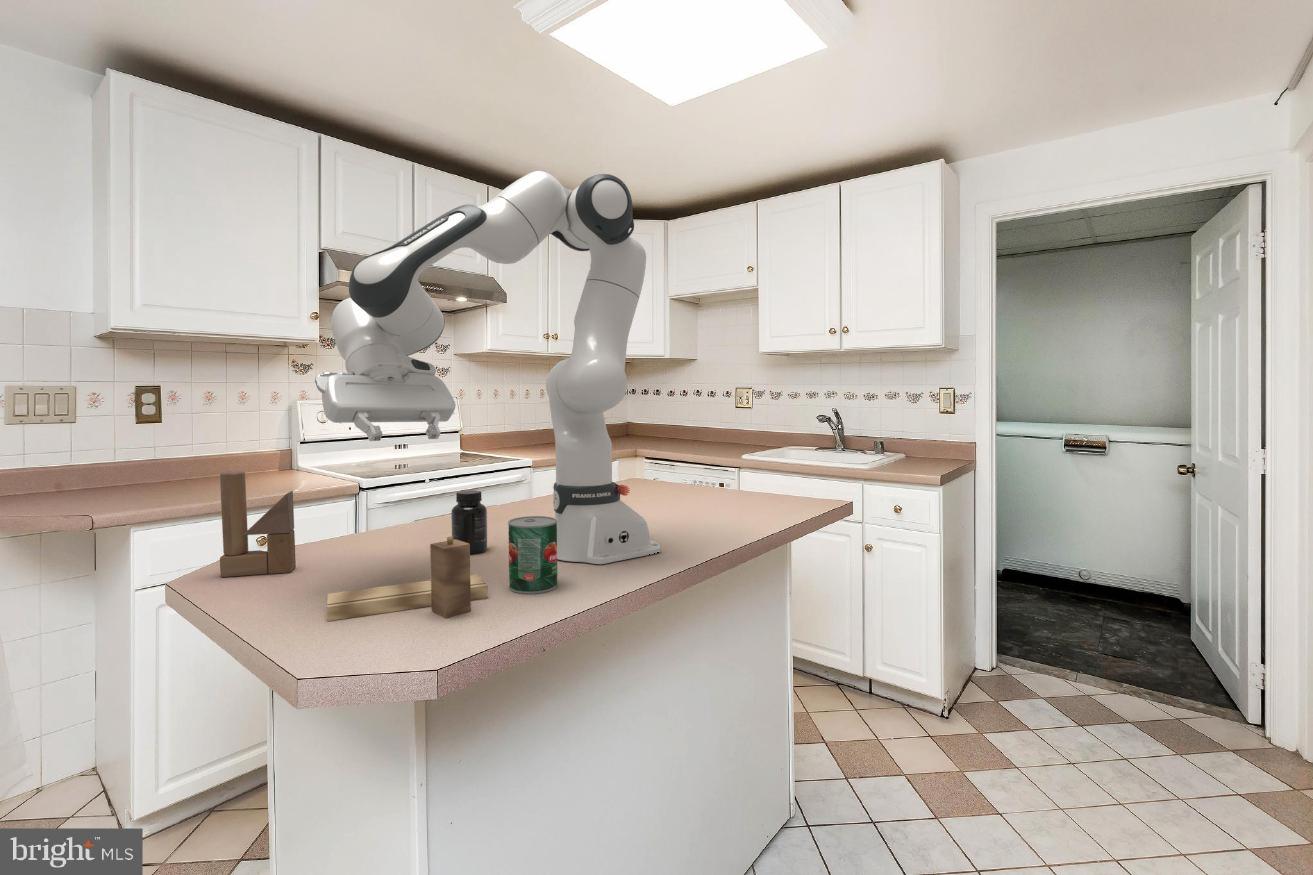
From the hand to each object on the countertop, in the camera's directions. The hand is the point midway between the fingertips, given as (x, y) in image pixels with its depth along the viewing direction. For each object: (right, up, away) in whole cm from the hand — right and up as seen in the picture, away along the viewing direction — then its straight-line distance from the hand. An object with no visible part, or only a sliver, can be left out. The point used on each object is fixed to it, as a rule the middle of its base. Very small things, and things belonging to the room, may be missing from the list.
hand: (406, 437), depth 97 cm
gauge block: (+9, -25, -7) cm, 28 cm away
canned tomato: (+19, -25, +5) cm, 32 cm away
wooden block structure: (-31, -24, +12) cm, 41 cm away
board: (+2, -25, -3) cm, 25 cm away
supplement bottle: (+2, -23, +28) cm, 36 cm away
